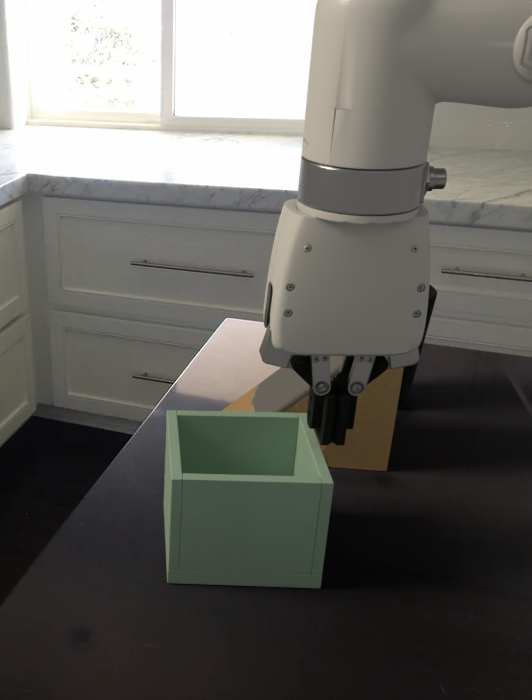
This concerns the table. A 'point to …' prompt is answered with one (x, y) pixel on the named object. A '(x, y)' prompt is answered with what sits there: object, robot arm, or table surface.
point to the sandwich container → (360, 442)
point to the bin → (245, 499)
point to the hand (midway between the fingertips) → (328, 435)
